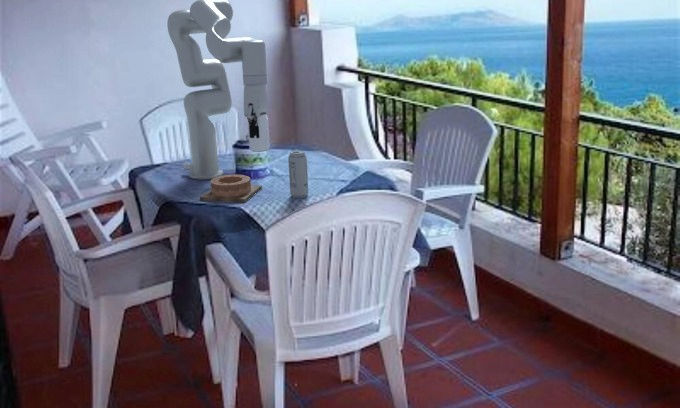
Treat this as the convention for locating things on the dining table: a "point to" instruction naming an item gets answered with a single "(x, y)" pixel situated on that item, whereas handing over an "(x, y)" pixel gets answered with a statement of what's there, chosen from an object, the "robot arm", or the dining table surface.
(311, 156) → the dining table surface
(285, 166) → the dining table surface
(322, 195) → the dining table surface
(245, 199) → the socket block
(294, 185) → the energy drink can
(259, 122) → the can
